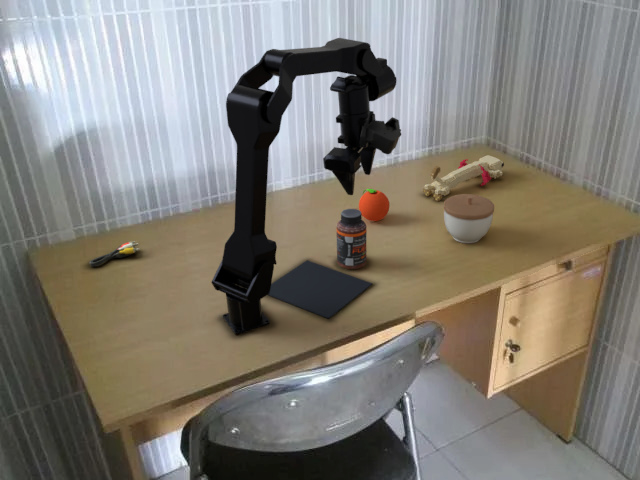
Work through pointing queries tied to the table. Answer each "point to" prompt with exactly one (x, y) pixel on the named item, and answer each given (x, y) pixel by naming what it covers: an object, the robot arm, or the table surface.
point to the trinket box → (468, 217)
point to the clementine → (374, 205)
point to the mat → (317, 289)
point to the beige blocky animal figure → (464, 175)
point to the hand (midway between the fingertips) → (359, 184)
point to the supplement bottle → (351, 239)
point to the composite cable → (116, 253)
